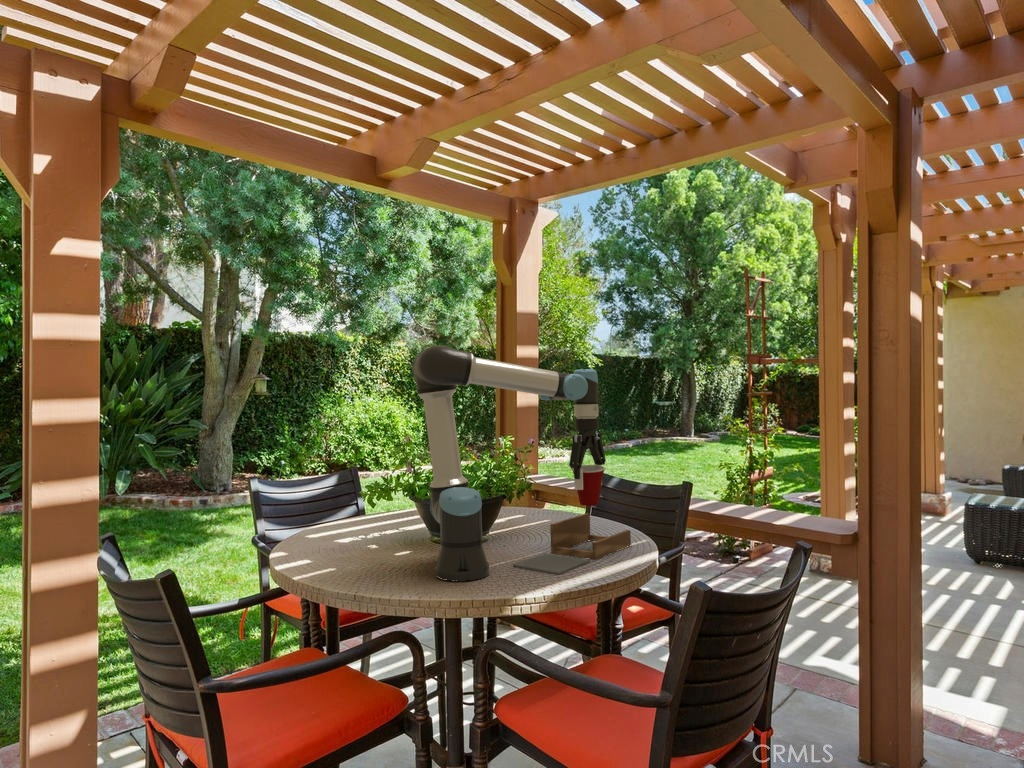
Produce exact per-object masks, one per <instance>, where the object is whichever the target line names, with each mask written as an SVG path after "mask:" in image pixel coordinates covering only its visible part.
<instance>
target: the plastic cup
mask: <svg viewBox="0 0 1024 768" xmlns="http://www.w3.org/2000/svg"><path fill="white" fill-rule="evenodd" d="M580 469H583V490H577V489H576V491H577V495H578V502H579V504H580V506H586V507H587V506H588V507H589V506H590V507H593V506H598V505H599V502H600V496H601V490H602V485H603V477H604V472H605V470H606V466H605V465H602V466H599V465H596V464H582V466H581V468H580ZM570 470H571V471H572V472H573V475H574V468H571V467H570ZM601 484H602V485H601Z"/></svg>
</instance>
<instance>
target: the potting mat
mask: <svg viewBox="0 0 1024 768" xmlns="http://www.w3.org/2000/svg"><path fill="white" fill-rule="evenodd" d="M589 562H590V563H591V559H586V558H579V557H573V556H566V555H560V554H554V553H543V554H542V553H541V554H539V555H537V556H533V557H532V558H529V559H526V560H525V559H524V560H523V561H520V562H517V563H515V564H513V565H512V567H513V566H515V567H514V568H517V567H519V568H518V569H522V568H524V570H528V571H534V572H539V573H545V574H550V575H551V574H552V575H555V576H556V575H557V576H561V575H564V574H565V573H568V572H570V571H572V570H575V569H578V568H579V566H580V567H582V566H584V564H585V565H587V564H590V563H589ZM586 563H587V564H586ZM581 565H582V566H581Z"/></svg>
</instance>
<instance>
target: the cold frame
mask: <svg viewBox="0 0 1024 768" xmlns="http://www.w3.org/2000/svg"><path fill="white" fill-rule="evenodd" d="M590 516H591V514H590V513H583V514H579V515H576V516H573V517H569V518H565V519H563V520H559V521H556V522H552V523H550V524H549V525H550V526H549V529H550V530H549V531H550V533H549V534H550V554H553V555H560V556H567V555H569V556H568V557H574V556H577V557H576V558H580V557H584V558H583V559H586V558H590V559H589V560H593V559H598V560H599V558H600V559H602V558H604V557H603V556H605V555H607V556H609V555H608V554H610V553H612V554H614V553H613V552H615V551H617V550H619V551H621V550H620V549H622V548H624V549H626V548H625V547H627V546H629V547H631V546H632V539H631V538H632V537H631V534H632V533H631V529H626V530H624V531H620V532H617V533H615V534H613V535H612V534H611V535H610V536H605V535H598V534H591V517H590ZM588 540H590V541H588ZM585 541H587V542H592V541H596V542H592V549H591V550H592V551H591V550H585V549H577V548H573V547H572V546H574V545H576V546H578V545H577V544H579V545H581V544H580V543H582V544H584V543H583V542H585ZM585 543H586V542H585ZM630 545H631V546H630ZM570 547H571V548H570ZM574 547H575V546H574ZM627 548H628V547H627ZM622 550H623V549H622ZM617 552H618V551H617ZM615 553H616V552H615ZM610 555H611V554H610ZM601 557H602V558H601ZM605 557H606V556H605Z"/></svg>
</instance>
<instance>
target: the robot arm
mask: <svg viewBox="0 0 1024 768" xmlns="http://www.w3.org/2000/svg"><path fill="white" fill-rule="evenodd" d="M411 366H412V367H411V369H412V375H413V377H414V379H415V385H416V391H417V396H418V397H419V398H420V399H422V400H423V408H424V415H425V423H426V428H427V430H426V431H427V437H428V445H429V453H430V459H431V467H432V476H433V480H432V481H431V483H430V484H429V494H430V502H429V510H430V513H431V516H432V517H433V519H434V520H435V521H436V522H437V523H438V524H439V528H440V530H439V531H440V549H439V553H438V557H437V561H436V564H435V567H434V576H435V575H436V576H438V577H440V578H442V579H447V580H455V581H454V582H467V581H466V580H471V581H476V580H475V579H477V580H481V579H483V578H486V577H487V576H489V575H490V564H489V562H488V560H487V556H486V552H485V549H484V546H483V519H482V518H483V517H482V516H483V515H482V513H483V512H482V506H483V502H482V496H481V493H480V492H479V491H478V490H477V489H475V488H472V487H471V488H470V486H469V479H467V477H465V476H464V475H463V472H462V465H461V463H462V462H461V455H460V448H459V440H458V431H457V426H456V418H455V417H456V415H455V409H454V402H453V395H454V394H455V392H456V391H457V387H456V386H462V387H467V386H468V385H470V384H471V385H479V386H484V387H490V388H496V389H503V390H508V391H513V392H514V391H515V392H521V393H526V394H532V395H533V394H534V395H537V396H538V398H539V399H540V400H541V401H566V400H567V401H569V400H570V401H574V418H575V419H574V429H575V431H578V434H577V435H572V445H571V452H570V459H569V463H568V464H569V465H568V466H569V467H570V469H571V468H574V474H573V478H574V479H573V481H574V490H576V491H577V490H583V469H580V468H581V466H582V465H583V462H584V458H585V455H586V451H587V450H588V449H589V452H590V454H591V458H592V460H593V463H594V465H599V466H605V464H606V461H607V460H606V455H605V449H604V445H603V440H602V439H603V438H602V437H603V435H602V433H601V432H597V431H598V430H599V429H600V419H599V418H597V417H599V409H600V408H599V380H598V379H599V377H598V372H597V370H596V369H592V368H591V369H589V368H586V369H575V370H574V371H573V373H566V372H559V371H553V370H550V369H544V368H538V367H531V366H526V365H521V364H515V363H511V362H510V363H509V362H505V361H498V360H493V359H487V358H481V357H476V356H475V355H474V354H473V353H472V352H469V351H464V350H459V349H455V348H452V347H448V346H444V345H431V346H429V347H427V348H424V349H422V350H421V351H420V352H418V353H417V355H416V356H415V357H414V360H413V362H412V365H411ZM601 486H603V483H602V484H601ZM436 576H435V577H436ZM480 578H481V579H480ZM456 580H457V581H456Z"/></svg>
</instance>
